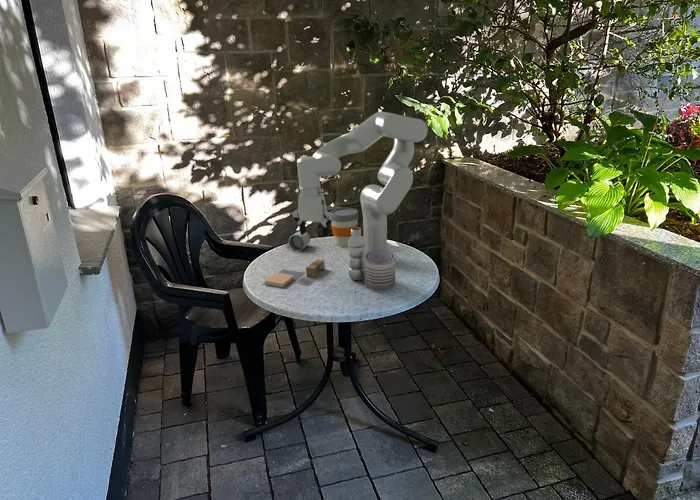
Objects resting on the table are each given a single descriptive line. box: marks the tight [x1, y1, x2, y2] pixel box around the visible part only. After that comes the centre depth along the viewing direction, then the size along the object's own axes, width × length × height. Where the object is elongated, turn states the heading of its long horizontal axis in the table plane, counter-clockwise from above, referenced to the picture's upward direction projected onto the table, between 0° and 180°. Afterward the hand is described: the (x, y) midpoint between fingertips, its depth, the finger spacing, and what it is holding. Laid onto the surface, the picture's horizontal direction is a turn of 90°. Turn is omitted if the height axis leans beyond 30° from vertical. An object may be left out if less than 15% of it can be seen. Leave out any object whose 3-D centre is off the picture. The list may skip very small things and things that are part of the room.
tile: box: [264, 272, 294, 288], centre depth 185 cm, size 8×2×8 cm
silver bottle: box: [347, 227, 365, 281], centre depth 183 cm, size 6×7×20 cm
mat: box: [261, 268, 306, 290], centre depth 188 cm, size 10×15×1 cm
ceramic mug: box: [285, 230, 311, 252], centre depth 218 cm, size 11×8×8 cm
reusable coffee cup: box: [330, 207, 359, 248], centre depth 220 cm, size 13×13×15 cm
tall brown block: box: [293, 258, 326, 287], centre depth 188 cm, size 16×6×4 cm, turn 156°
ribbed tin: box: [364, 249, 397, 293], centre depth 179 cm, size 11×11×12 cm
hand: (314, 234), depth 186 cm, fingers open, 9 cm apart
